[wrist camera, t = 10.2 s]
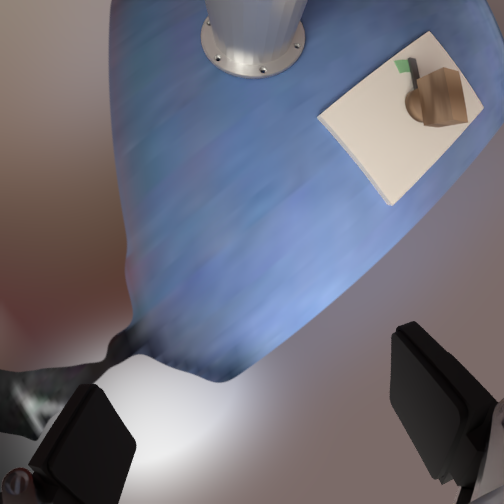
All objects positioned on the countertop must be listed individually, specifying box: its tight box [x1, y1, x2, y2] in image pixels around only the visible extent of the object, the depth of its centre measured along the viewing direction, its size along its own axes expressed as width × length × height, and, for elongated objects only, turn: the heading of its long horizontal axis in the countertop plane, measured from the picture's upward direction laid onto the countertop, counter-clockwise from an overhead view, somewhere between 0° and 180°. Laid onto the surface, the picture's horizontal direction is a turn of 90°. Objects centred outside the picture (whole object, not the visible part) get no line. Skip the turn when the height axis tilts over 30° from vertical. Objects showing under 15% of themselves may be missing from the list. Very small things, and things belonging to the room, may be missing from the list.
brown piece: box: [405, 57, 468, 128], centre depth 26 cm, size 10×4×8 cm, turn 5°
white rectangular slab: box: [317, 31, 484, 206], centre depth 31 cm, size 24×14×2 cm, turn 133°
